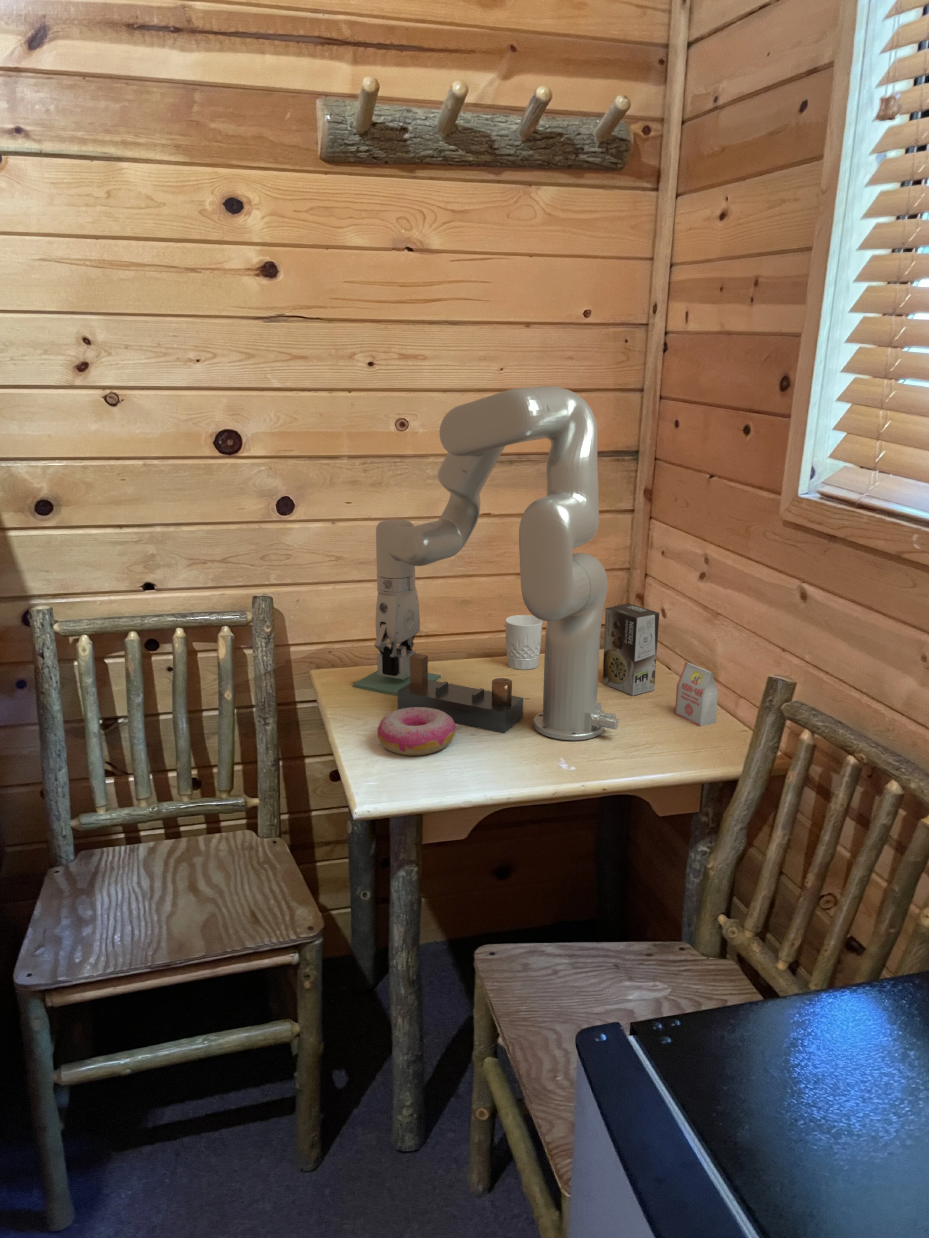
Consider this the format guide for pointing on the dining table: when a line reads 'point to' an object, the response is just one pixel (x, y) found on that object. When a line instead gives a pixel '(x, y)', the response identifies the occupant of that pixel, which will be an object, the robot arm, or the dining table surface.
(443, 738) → the donut
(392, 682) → the rubber mat
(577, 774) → the dining table surface
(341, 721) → the dining table surface
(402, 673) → the lever cap
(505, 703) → the plane body
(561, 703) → the robot arm
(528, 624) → the white cup
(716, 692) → the white gable carton
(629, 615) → the coffee box
